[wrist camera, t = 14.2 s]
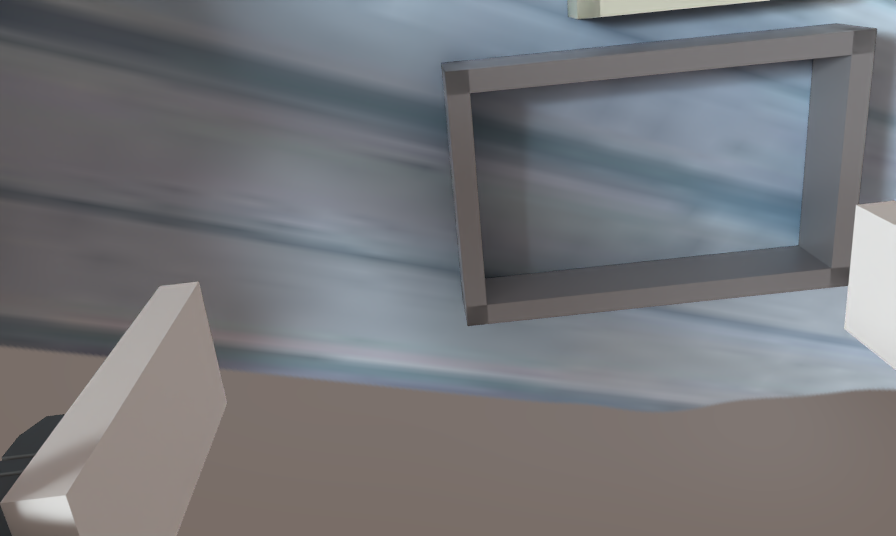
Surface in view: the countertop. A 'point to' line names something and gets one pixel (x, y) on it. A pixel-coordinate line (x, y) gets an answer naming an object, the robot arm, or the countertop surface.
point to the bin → (690, 278)
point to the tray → (636, 6)
